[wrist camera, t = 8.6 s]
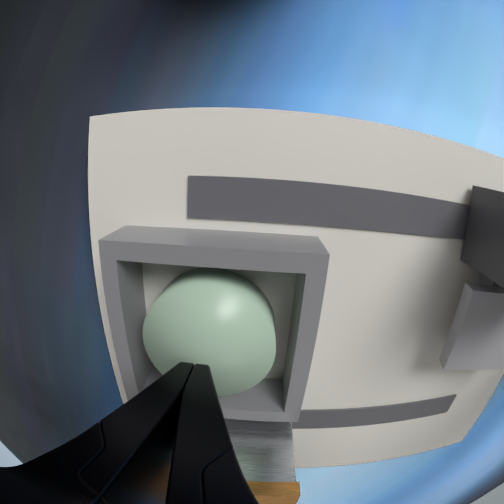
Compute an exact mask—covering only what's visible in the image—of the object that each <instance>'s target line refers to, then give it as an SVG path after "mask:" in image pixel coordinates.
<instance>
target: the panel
mask: <svg viewBox="0 0 504 504" xmlns="http://www.w3.org/2000/svg"><path fill="white" fill-rule="evenodd" d="M473 185H474V186H479V187H483V188H488V189H492V190H496V191H501V192H504V159H503V158H501V157H498V156H495V155H493V154H490V153H487V152H484V151H481V150H479V149H476V148H473V147H470V146H466V145H463V144H460V143H457V142H454V141H450V140H447V139H443V138H440V137H436V136H432V135H429V134H425V133H421V132H417V131H413V130H409V129H404V128H400V127H395V126H391V125H386V124H381V123H375V122H370V121H365V120H359V119H353V118H346V117H340V116H332V115H325V114H317V113H308V112H298V111H287V110H273V109H256V108H173V109H156V110H143V111H132V112H122V113H114V114H106V115H98V116H92V117H90V125H89V146H88V196H89V218H90V232H91V244H92V254H93V263H94V271H95V278H96V285H97V292H98V298H99V304H100V310H101V316H102V321H103V326H104V331H105V336H106V340H107V345H108V349H109V354H110V358H111V362H112V366H113V370H114V373H115V377H116V381H117V384H118V388H119V391H120V395H121V398H122V401H123V404H125V403H126V402H127V401H129V400H130V399H131V398H133V397H134V396H135V395H137V394H138V393H140V392H141V391H142V390H144V389H145V388H146V387H148V386H149V385H150V384H152V383H153V382H154V381H156V380H157V379H158V378H159V377H161V376H162V374H161V373H160V372H159V371H158V369H157V368H156V367H155V366H154V365H153V363H152V362H151V360H150V358H149V356H148V354H147V352H146V349H145V347H144V342H143V324H144V320H145V317H146V315H147V313H148V311H149V310H150V308H151V307H152V305H153V304H154V302H155V301H156V300H157V298H158V297H159V296H160V294H161V293H162V292H163V290H164V289H165V287H166V286H167V285H168V284H169V283H170V282H171V281H172V280H173V279H174V278H176V277H177V276H179V275H180V274H182V273H184V272H187V271H189V270H192V269H196V268H203V267H209V268H223V269H228V270H231V271H234V272H237V273H239V274H241V275H243V276H245V277H247V278H248V279H249V280H251V281H252V282H254V283H255V284H256V285H257V286H258V287H259V288H260V289H261V290H262V291H263V293H264V294H265V295H266V297H267V298H268V300H269V302H270V304H271V306H272V309H273V313H274V319H275V336H276V355H275V359H274V363H273V365H272V367H271V369H270V371H269V373H268V374H267V375H266V376H265V378H264V379H263V380H261V381H260V382H259V383H258V384H257V385H255V386H254V387H252V388H250V389H248V390H246V391H243V392H241V393H237V394H233V395H227V396H218V399H219V402H220V406H221V409H222V412H223V416H224V418H225V419H236V420H250V421H269V422H292V432H293V446H294V461H295V468H313V467H330V466H342V465H352V464H361V463H368V462H375V461H382V460H387V459H393V458H398V457H403V456H408V455H413V454H417V453H422V452H426V451H430V450H434V449H437V448H441V447H445V446H448V445H451V444H455V443H458V442H461V441H462V440H463V439H464V437H465V436H466V435H467V433H468V432H469V430H470V429H471V428H472V426H473V425H474V423H475V422H476V420H477V419H478V417H479V416H480V414H481V413H482V411H483V409H484V408H485V406H486V405H487V403H488V401H489V400H490V398H491V396H492V395H493V393H494V391H495V389H496V388H497V386H498V384H499V382H500V380H501V379H502V377H503V375H504V369H495V370H443V368H442V365H441V363H440V361H439V357H440V355H441V352H442V350H443V347H444V345H445V342H446V340H447V337H448V334H449V332H450V329H451V326H452V323H453V320H454V318H455V315H456V312H457V308H458V305H459V302H460V299H461V296H462V292H463V289H464V285H465V282H466V283H474V284H482V285H490V286H498V287H501V286H500V285H498V284H497V283H495V282H494V281H492V280H491V279H489V278H488V277H486V276H485V275H483V274H482V273H480V272H479V271H477V270H476V269H474V268H472V267H471V266H469V265H468V264H466V263H465V262H463V261H461V260H460V258H461V253H462V249H463V244H464V239H465V234H466V228H467V222H468V216H469V210H470V202H471V195H472V186H473Z"/></svg>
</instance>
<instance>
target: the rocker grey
mask: <svg viewBox="0 0 504 504" xmlns="http://www.w3.org/2000/svg"><path fill="white" fill-rule="evenodd" d="M439 361H440V363H441V365H442V368H443V370H495V369H504V288H503V287H498V286H490V285H482V284H474V283H466V282H465V285H464V289H463V292H462V296H461V299H460V302H459V305H458V308H457V312H456V315H455V318H454V320H453V323H452V326H451V329H450V332H449V334H448V337H447V340H446V342H445V345H444V347H443V350H442V352H441V355H440V357H439Z"/></svg>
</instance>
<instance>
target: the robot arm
mask: <svg viewBox="0 0 504 504" xmlns="http://www.w3.org/2000/svg"><path fill="white" fill-rule="evenodd" d="M0 504H259V503H258V501H257V499H256V498H255V496H254V494H253V493H252V491H251V489H250V487H249V485H248V483H247V481H246V479H245V477H244V475H243V472H242V470H241V467H240V465H239V462H238V460H237V457H236V454H235V450H234V449H233V445H232V442H231V438H230V435H229V432H228V429H227V426H226V422H225V419H224V416H223V412H222V409H221V406H220V402H219V399H218V395H217V392H216V388H215V384H214V381H213V377H212V373H211V370H210V366H209V365H206V364H195V365H194V364H193V363H189V362H179V363H178V364H177V365H175V366H174V367H173V368H171V369H170V370H169V371H167V372H166V373H165V374H163V375H162V376H161V377H159V378H158V379H157V380H156V381H154V382H153V383H152V384H150V385H149V386H148V387H146V388H145V389H144V390H142V391H141V392H140V393H138V394H137V395H135V396H134V397H133V398H131V399H130V400H129V401H127V402H126V403H125V404H123V405H122V406H120V407H119V408H118V409H116V410H115V411H114V412H112V413H111V414H109V415H108V416H107V417H105V418H104V419H102V420H101V421H100V423H99V422H98V423H97V424H95V425H94V426H92V427H91V428H89V429H88V430H86V431H85V432H83V433H82V434H80V435H79V436H77V437H76V438H74V439H72V440H70V441H69V442H67V443H65V444H63V445H61V446H59V447H57V448H55V449H54V450H52V451H50V452H47V453H45V454H43V455H41V456H39V457H37V458H35V459H33V460H31V461H29V462H27V463H24V464H22V465H18V466H14V467H0Z"/></svg>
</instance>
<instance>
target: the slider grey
mask: <svg viewBox="0 0 504 504" xmlns="http://www.w3.org/2000/svg"><path fill="white" fill-rule="evenodd" d="M460 260H461V261H463V262H465V263H466V264H468V265H469V266H471V267H472V268H474V269H476V270H477V271H479V272H480V273H482V274H483V275H485V276H486V277H488V278H489V279H491V280H492V281H494V282H495V283H497V284H498V285H500V286H501V287H503V288H504V192H501V191H496V190H492V189H488V188H483V187H479V186H474V185H473V186H472V195H471V202H470V210H469V216H468V222H467V228H466V234H465V239H464V244H463V249H462V253H461V258H460Z"/></svg>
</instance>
